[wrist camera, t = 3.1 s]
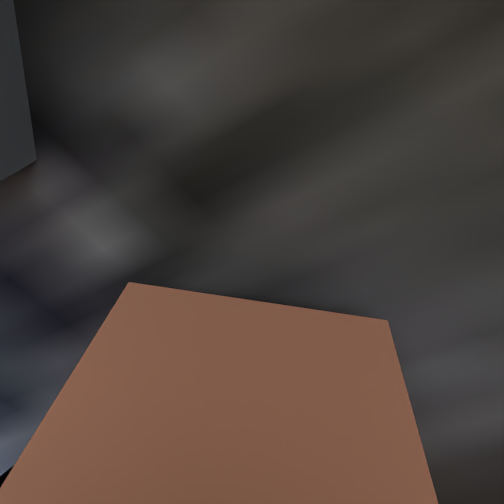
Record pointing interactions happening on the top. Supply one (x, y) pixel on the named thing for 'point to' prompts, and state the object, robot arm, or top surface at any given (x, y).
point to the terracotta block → (227, 410)
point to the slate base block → (13, 99)
